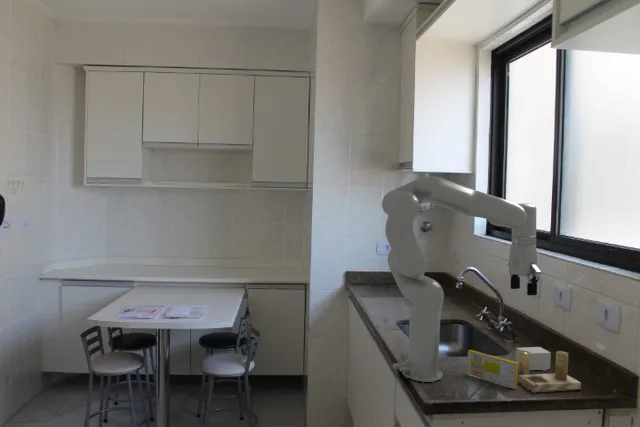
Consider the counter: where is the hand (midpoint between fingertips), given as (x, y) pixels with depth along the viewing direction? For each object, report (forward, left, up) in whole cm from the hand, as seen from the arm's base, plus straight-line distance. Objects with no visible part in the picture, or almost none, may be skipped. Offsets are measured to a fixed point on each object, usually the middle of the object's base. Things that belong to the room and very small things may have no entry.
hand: (523, 291), depth 170 cm
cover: (+6, +1, -26) cm, 27 cm away
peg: (-2, -6, -27) cm, 27 cm away
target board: (+1, -15, -26) cm, 30 cm away
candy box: (-15, -9, -27) cm, 32 cm away
